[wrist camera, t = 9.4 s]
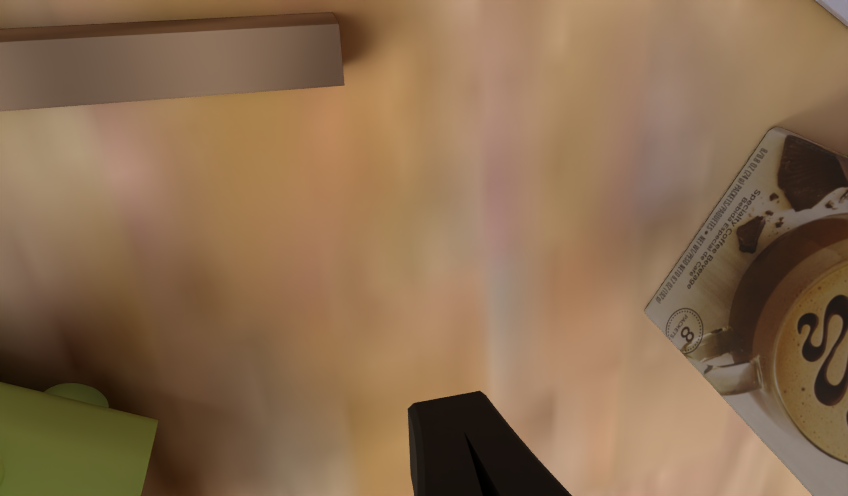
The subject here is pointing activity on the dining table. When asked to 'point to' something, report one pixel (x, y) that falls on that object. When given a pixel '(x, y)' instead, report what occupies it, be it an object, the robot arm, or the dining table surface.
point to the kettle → (70, 443)
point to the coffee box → (774, 305)
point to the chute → (167, 59)
